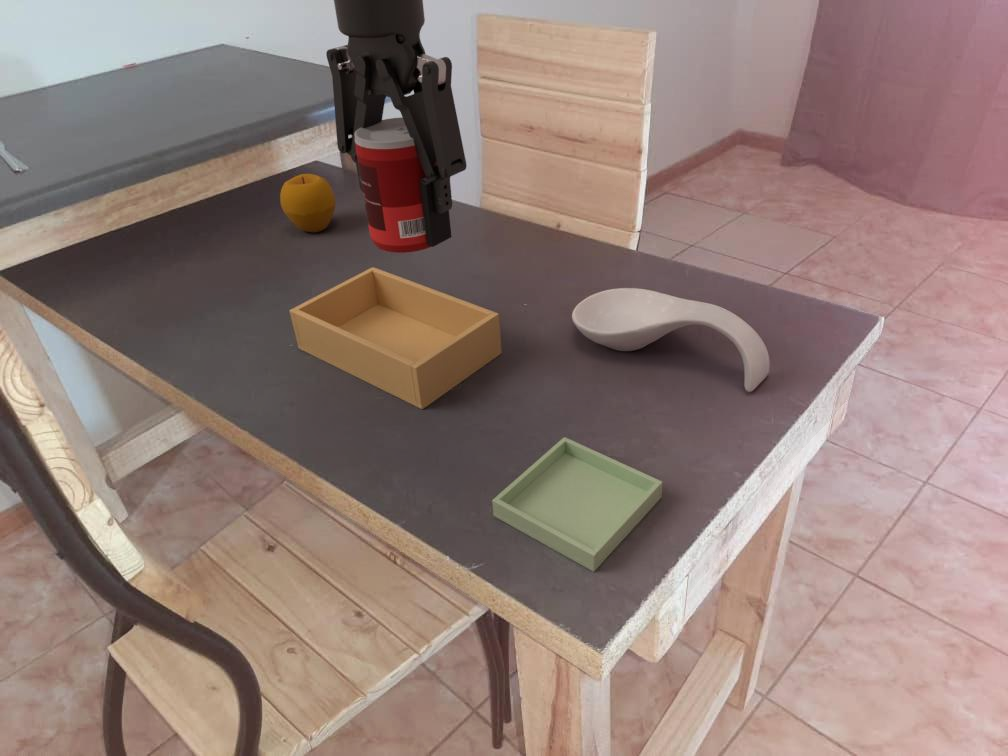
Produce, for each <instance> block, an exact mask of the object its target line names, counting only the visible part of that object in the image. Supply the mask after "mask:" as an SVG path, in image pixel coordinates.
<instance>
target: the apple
mask: <svg viewBox="0 0 1008 756" xmlns="http://www.w3.org/2000/svg"><path fill="white" fill-rule="evenodd" d="M279 200H280V207H281V208H282V211H283V213H284V214H285V215H286V217H287V219H288V220H290V222H291V223H292V224H293V225H294V226H295V227H296V228H298V229H299V230H301V231H303V232H308V233H319V232H322V231H323V230H325V229H327V227H328V226H329V224H330V223H331V220H332V218H333V216H334V212H335V209H336V196H335V193H334V191H333V189H332V186H331V184H330V183H329V182H328V181H327V180H326V179H325V178H324V177H323V176H320V175H317V174H315V173H301V174H298V175H296V176H293V177H292V178H290V179H288V180H287V181H285V182H284V183H283V185H282V187H281V188H280V195H279Z"/></svg>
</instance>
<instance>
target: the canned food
mask: <svg viewBox="0 0 1008 756" xmlns="http://www.w3.org/2000/svg"><path fill="white" fill-rule="evenodd" d="M354 136H355V146H356V154H357V160H358V166H359V172H360V178H361V184H362V190H363V192H362V196H363V201H364V207H365V213H366V219H367V224H368V230H369V237H370V238H371V241H372V242H373V244H374V245H375V247H376V248H378V249H380V250H381V251H385V252H389V253H396V254H397V253H398V254H399V253H400V254H403V253H405V254H406V253H413V252H414V253H415V252H419V251H423V250H427V249H430V248H432V247H431V246H428V245H427V239H426V230H425V222H424V214H423V205H422V197H421V189H420V179H422V178H425V177H426V176H425V173H424V170H423V168H422V165H421V163H420V160H419V158H418V155H417V153H416V150H415V144H414V139H413V138H411V137H410V135H409V132H408V130H407V127H406V125H405V122H404V120H403V117H402V116H401V117H391V118H386V119H382V122H380V123H378V124H376V125H373V126H370V127H367V128H362V127H361V128H359V129H358V130H356V131H355V134H354ZM436 165H438V164H437V161H436V162H435V166H436Z"/></svg>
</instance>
